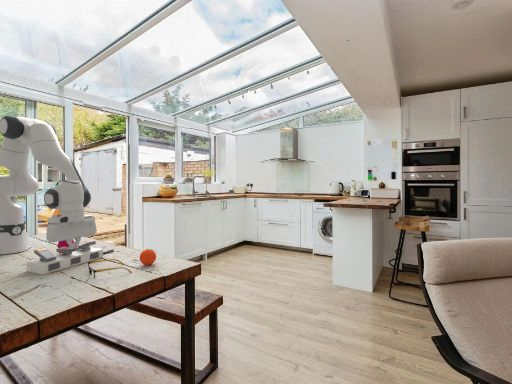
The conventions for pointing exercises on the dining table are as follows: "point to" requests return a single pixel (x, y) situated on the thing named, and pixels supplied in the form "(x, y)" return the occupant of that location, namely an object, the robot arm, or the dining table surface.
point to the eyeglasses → (104, 269)
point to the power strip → (65, 260)
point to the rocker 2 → (66, 249)
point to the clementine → (148, 257)
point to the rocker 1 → (45, 254)
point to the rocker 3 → (86, 245)
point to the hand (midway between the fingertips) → (73, 248)
